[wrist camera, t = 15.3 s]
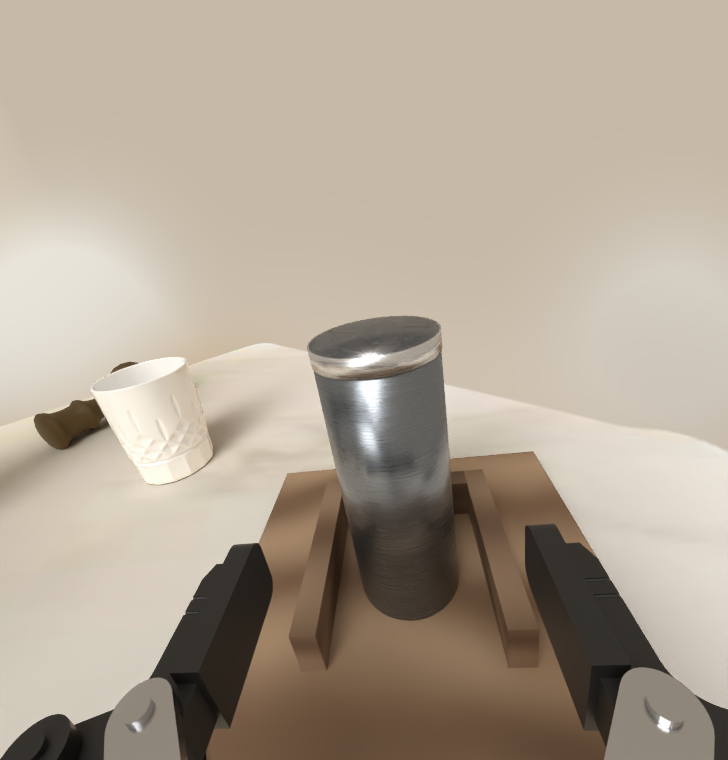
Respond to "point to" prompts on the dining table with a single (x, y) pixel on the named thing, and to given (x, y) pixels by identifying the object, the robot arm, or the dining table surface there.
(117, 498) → the dining table surface
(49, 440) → the kendama
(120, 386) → the white cup
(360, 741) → the walnut bracket
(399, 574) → the graphite canister
